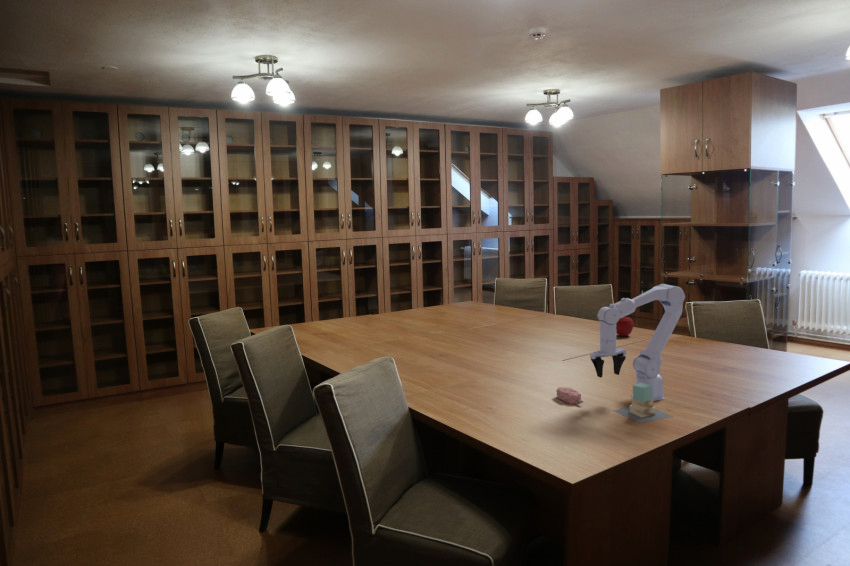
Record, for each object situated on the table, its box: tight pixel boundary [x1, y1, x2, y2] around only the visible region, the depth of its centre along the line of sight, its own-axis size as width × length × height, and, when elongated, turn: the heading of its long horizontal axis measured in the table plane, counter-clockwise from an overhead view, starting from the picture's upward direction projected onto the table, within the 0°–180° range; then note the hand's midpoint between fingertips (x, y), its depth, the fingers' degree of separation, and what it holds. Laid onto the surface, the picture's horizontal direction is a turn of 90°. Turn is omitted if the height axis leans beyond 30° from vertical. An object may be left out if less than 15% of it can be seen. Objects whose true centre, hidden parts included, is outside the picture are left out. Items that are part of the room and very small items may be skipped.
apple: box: [616, 316, 634, 337], centre depth 333 cm, size 11×11×12 cm
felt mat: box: [612, 406, 673, 424], centre depth 206 cm, size 14×14×1 cm
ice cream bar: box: [556, 386, 584, 405], centre depth 223 cm, size 6×4×15 cm
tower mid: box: [631, 398, 654, 410], centre depth 206 cm, size 5×5×2 cm
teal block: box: [632, 383, 652, 402], centre depth 205 cm, size 4×4×5 cm
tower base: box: [629, 404, 656, 417], centre depth 206 cm, size 6×6×2 cm
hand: (608, 375), depth 219 cm, fingers open, 7 cm apart
